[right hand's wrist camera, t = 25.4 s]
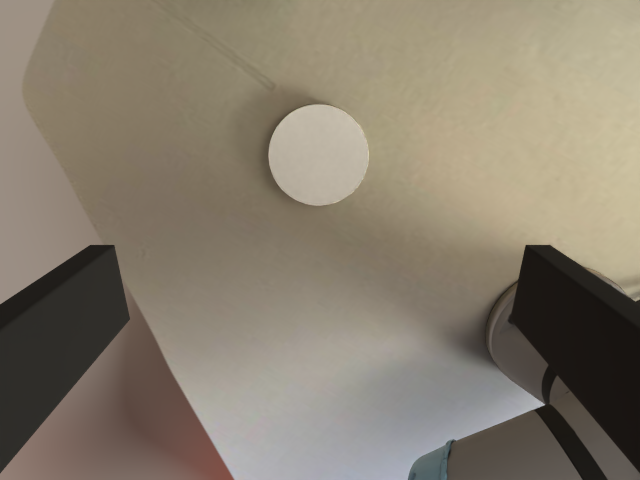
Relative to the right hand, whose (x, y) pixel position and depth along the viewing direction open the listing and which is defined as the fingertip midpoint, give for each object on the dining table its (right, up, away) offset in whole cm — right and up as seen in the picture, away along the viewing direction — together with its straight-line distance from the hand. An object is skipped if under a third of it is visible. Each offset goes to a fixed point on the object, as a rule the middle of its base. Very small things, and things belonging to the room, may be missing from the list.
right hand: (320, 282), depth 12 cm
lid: (0, +9, +23) cm, 25 cm away
